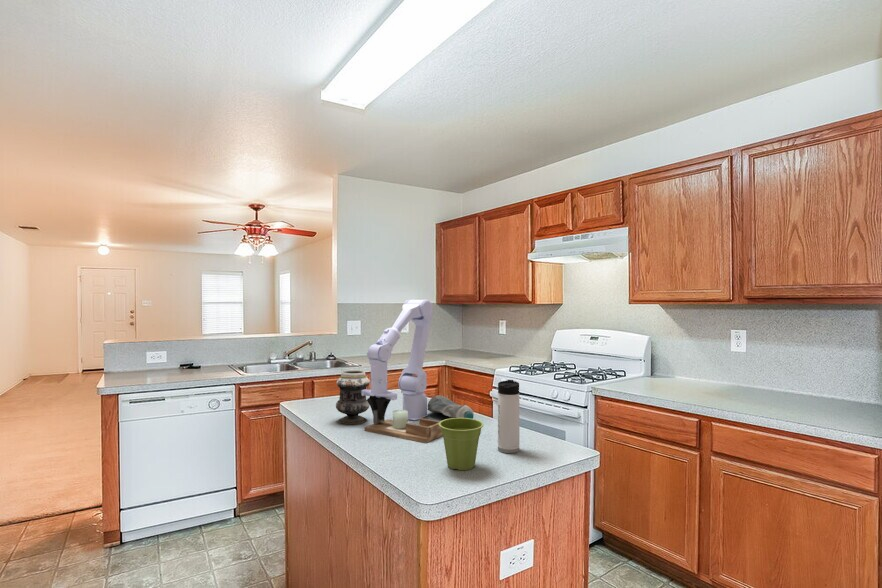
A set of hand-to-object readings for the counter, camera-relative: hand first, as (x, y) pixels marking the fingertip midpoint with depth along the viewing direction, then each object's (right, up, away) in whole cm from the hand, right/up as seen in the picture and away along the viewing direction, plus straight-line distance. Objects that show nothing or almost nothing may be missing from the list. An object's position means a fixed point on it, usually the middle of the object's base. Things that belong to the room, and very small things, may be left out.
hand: (378, 418), depth 160 cm
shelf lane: (+10, -3, -6) cm, 12 cm away
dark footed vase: (-11, -3, +8) cm, 14 cm away
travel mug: (+41, -3, -24) cm, 48 cm away
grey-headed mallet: (+5, -1, -3) cm, 6 cm away
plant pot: (+27, -3, -38) cm, 46 cm away
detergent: (+26, -4, +12) cm, 28 cm away
